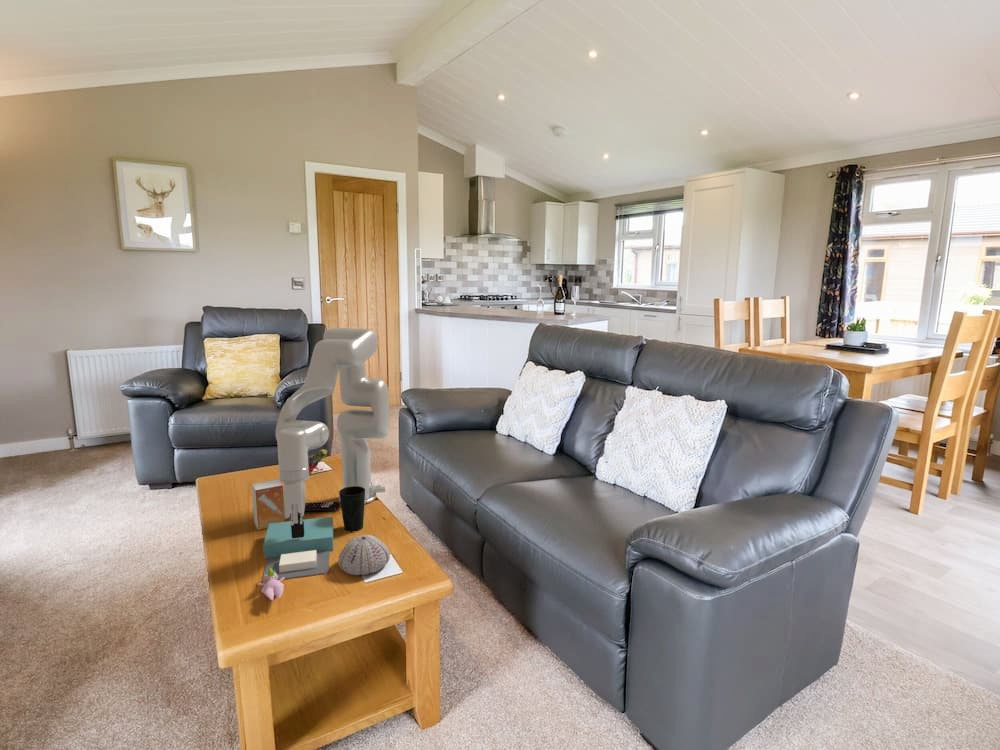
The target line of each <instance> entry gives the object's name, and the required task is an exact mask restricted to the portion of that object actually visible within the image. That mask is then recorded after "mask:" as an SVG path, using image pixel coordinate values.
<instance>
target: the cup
mask: <svg viewBox="0 0 1000 750" xmlns="http://www.w3.org/2000/svg"><path fill="white" fill-rule="evenodd" d="M338 493H339V494H338V495H339V496H340V501H339V503H340V507H341V514H342V519H343V520H342V521H343V527H344V531H345V530H346V531H345V532H348V531H350V532H349V533H353V532H352V531H356V532H359V531H361V530H363V528H364V517H365V504H364V503H365V489H364V488H363V487H359V486H351V487H346V488H343V487H342V488H341V489H340V490H339V491H338ZM358 530H359V531H358Z"/></svg>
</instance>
